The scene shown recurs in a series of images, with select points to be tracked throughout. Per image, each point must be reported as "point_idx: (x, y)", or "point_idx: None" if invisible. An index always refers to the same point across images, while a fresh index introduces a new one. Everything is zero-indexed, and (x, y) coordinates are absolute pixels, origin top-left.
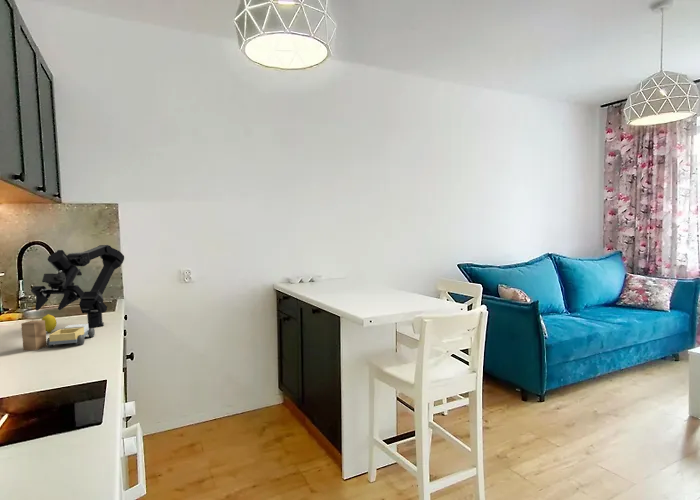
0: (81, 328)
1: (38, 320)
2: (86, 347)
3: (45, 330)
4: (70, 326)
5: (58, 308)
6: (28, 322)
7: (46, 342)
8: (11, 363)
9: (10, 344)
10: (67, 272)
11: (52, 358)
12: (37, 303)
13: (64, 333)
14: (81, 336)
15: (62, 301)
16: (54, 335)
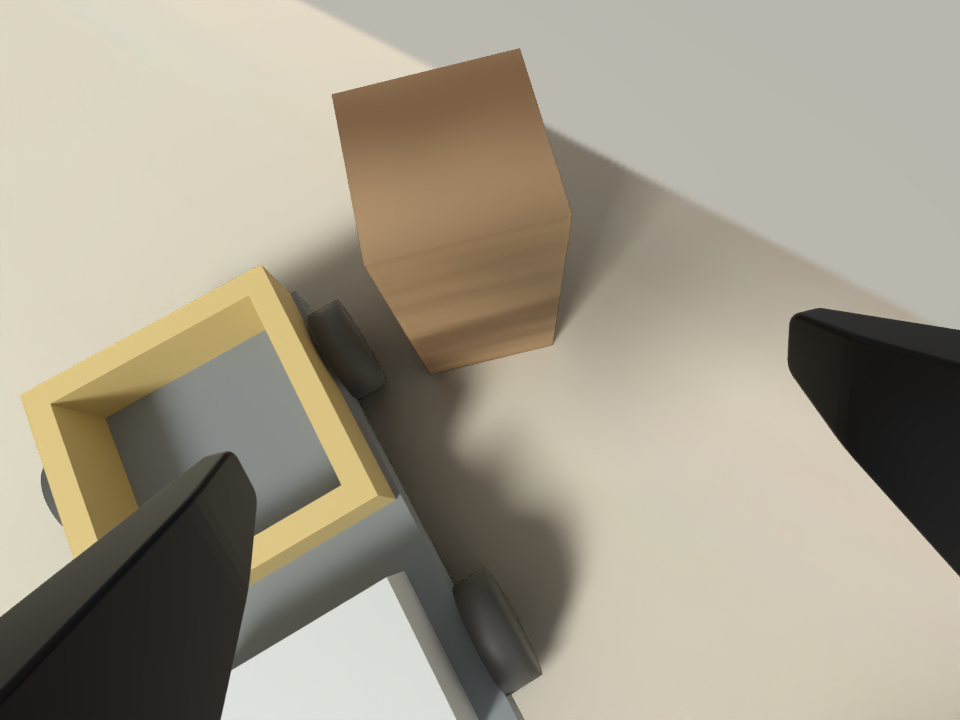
0: None
1: (456, 231)
2: (12, 425)
3: (397, 320)
4: (367, 676)
5: (211, 456)
6: (480, 111)
7: (425, 364)
8: (278, 21)
9: None
10: None
11: (79, 153)
12: (934, 345)
13: (133, 350)
14: (44, 472)
15: (52, 592)
16: (219, 294)
